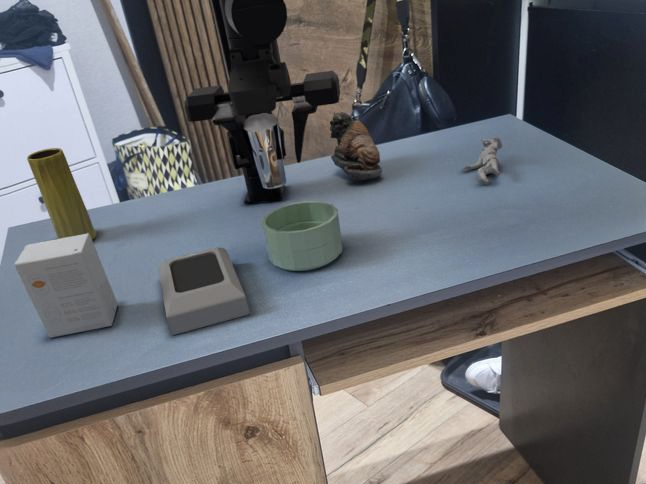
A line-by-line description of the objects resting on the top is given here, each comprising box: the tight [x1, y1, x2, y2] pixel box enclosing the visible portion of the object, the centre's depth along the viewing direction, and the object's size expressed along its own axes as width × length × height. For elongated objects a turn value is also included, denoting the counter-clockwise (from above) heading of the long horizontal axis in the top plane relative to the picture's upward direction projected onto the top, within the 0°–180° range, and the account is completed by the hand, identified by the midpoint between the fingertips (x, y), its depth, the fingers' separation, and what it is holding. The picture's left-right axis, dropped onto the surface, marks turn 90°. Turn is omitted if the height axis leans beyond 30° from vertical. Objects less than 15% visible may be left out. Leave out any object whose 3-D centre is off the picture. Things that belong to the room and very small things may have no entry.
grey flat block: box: [157, 247, 251, 336], centre depth 82 cm, size 10×4×15 cm
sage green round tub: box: [261, 200, 343, 272], centre depth 88 cm, size 10×10×6 cm
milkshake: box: [243, 104, 287, 189], centre depth 83 cm, size 4×5×10 cm
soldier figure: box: [462, 136, 503, 186], centre depth 106 cm, size 8×5×12 cm
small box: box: [13, 233, 119, 339], centre depth 79 cm, size 8×6×10 cm
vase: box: [26, 147, 98, 241], centre depth 101 cm, size 6×6×14 cm
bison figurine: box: [329, 111, 383, 182], centre depth 111 cm, size 12×7×10 cm, turn 28°
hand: (276, 164), depth 84 cm, fingers closed on milkshake, 6 cm apart
